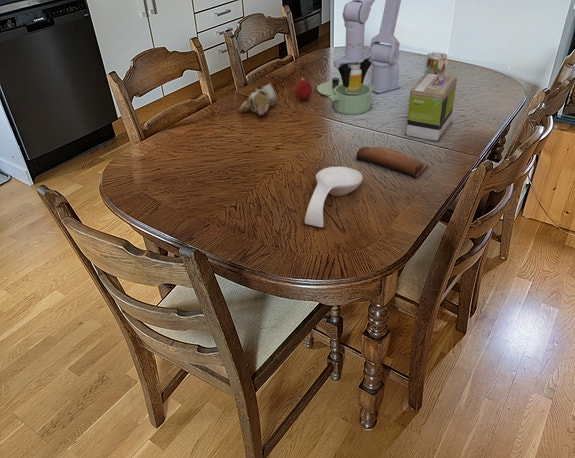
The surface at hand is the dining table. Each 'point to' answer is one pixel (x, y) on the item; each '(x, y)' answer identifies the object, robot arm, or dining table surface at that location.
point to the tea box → (431, 106)
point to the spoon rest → (330, 190)
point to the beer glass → (436, 63)
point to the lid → (329, 87)
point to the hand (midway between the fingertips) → (352, 84)
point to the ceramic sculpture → (259, 100)
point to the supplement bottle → (354, 79)
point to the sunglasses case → (391, 159)
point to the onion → (303, 89)
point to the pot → (352, 99)
